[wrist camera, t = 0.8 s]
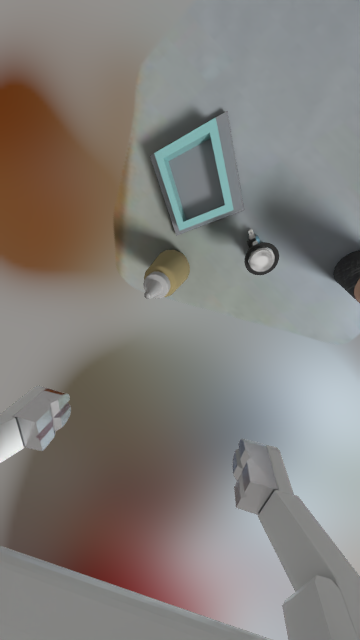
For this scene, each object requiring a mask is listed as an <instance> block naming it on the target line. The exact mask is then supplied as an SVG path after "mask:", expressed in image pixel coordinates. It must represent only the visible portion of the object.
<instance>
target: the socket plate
mask: <svg viewBox="0 0 360 640" xmlns="http://www.w3.org/2000/svg"><path fill="white" fill-rule="evenodd" d="M150 158H151V161H152V164H153V167H154V170H155V173H156V176H157V179H158V182H159V185H160V188H161V191H162V194H163V197H164V200H165V203H166V206H167V209H168V212H169V215H170V218H171V221H172V224H173V227H174V230H175V233H176V235H179V234H182V233H184V232H187V231H190V230H192V229H195V228H198V227H201V226H203V225H206V224H209V223H211V222H214V221H217V220H219V219H222V218H225V217H227V216H230V215H233V214H235V213H238V212H241V211H243V210H244V206H243V200H242V194H241V188H240V182H239V176H238V170H237V165H236V159H235V153H234V147H233V141H232V135H231V129H230V123H229V117H228V112H227V111H226V112H224V113H223V114H221V115H219V116H218V117H216V118H214V119H212V120H210V121H209V122H207V123H205V124H204V125H202V126H200V127H198V128H197V129H195V130H193V131H192V132H190V133H188V134H186V135H185V136H183V137H181V138H180V139H178V140H176V141H174V142H173V143H171V144H169V145H168V146H166V147H164V148H162V149H161V150H159V151H157V152H156V153H154V154H152V155H151V156H150Z"/></svg>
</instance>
